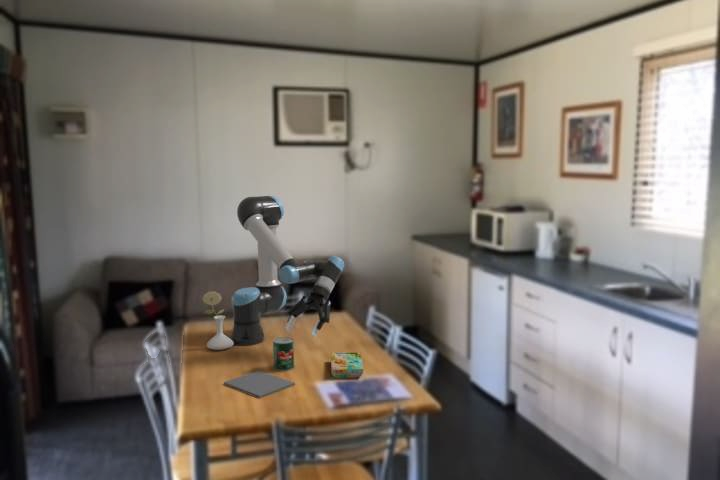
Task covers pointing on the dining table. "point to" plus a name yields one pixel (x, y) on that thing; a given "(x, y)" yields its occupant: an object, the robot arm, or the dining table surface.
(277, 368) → the canned tomato
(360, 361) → the puzzle game
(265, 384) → the mat
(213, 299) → the flower in vase
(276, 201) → the robot arm
